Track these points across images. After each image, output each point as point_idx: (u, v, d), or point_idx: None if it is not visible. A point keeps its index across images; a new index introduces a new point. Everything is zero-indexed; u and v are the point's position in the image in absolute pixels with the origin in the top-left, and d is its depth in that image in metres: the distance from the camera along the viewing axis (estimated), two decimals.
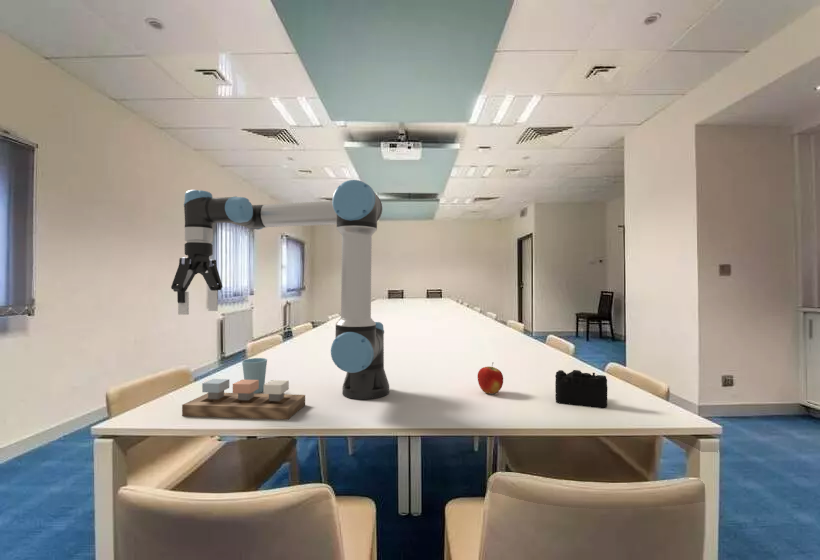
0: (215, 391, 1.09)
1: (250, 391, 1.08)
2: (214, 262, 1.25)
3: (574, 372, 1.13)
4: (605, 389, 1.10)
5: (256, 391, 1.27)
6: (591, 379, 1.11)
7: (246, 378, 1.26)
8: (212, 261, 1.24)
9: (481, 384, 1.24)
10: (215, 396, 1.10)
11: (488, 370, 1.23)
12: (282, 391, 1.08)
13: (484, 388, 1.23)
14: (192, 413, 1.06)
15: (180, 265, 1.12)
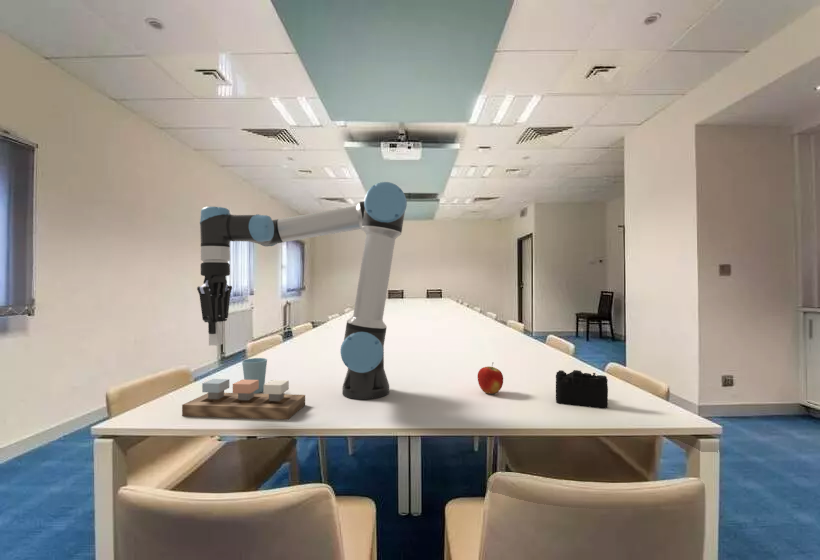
0: (215, 391, 1.09)
1: (250, 391, 1.08)
2: (230, 288, 1.17)
3: (574, 372, 1.13)
4: (605, 389, 1.10)
5: (256, 391, 1.27)
6: (591, 379, 1.11)
7: (246, 378, 1.26)
8: (228, 286, 1.17)
9: (481, 384, 1.24)
10: (215, 396, 1.10)
11: (488, 370, 1.23)
12: (282, 391, 1.08)
13: (484, 388, 1.23)
14: (192, 413, 1.06)
15: (201, 295, 1.06)
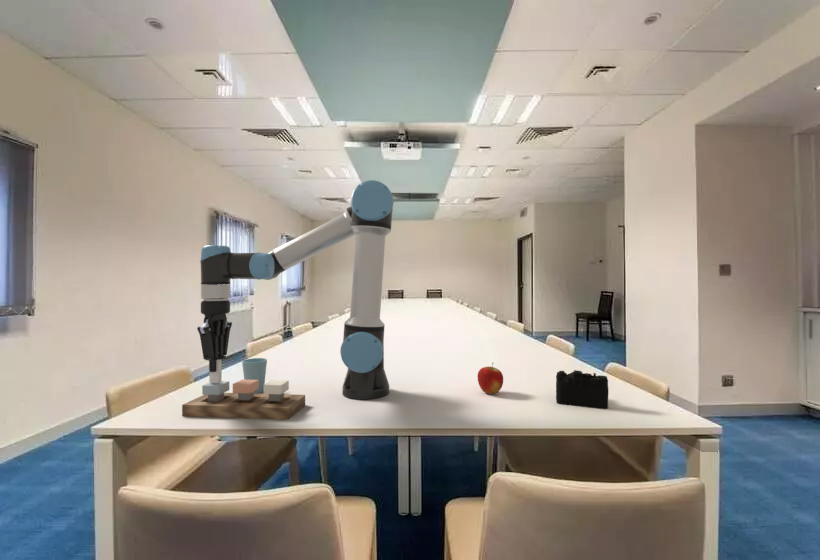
0: (215, 393, 1.09)
1: (250, 391, 1.08)
2: (229, 324, 1.17)
3: (575, 372, 1.13)
4: (606, 389, 1.10)
5: (256, 391, 1.27)
6: (592, 379, 1.10)
7: (246, 378, 1.26)
8: (228, 323, 1.17)
9: (481, 384, 1.24)
10: (215, 399, 1.10)
11: (488, 370, 1.23)
12: (282, 391, 1.08)
13: (484, 388, 1.23)
14: (192, 413, 1.06)
15: (201, 335, 1.07)
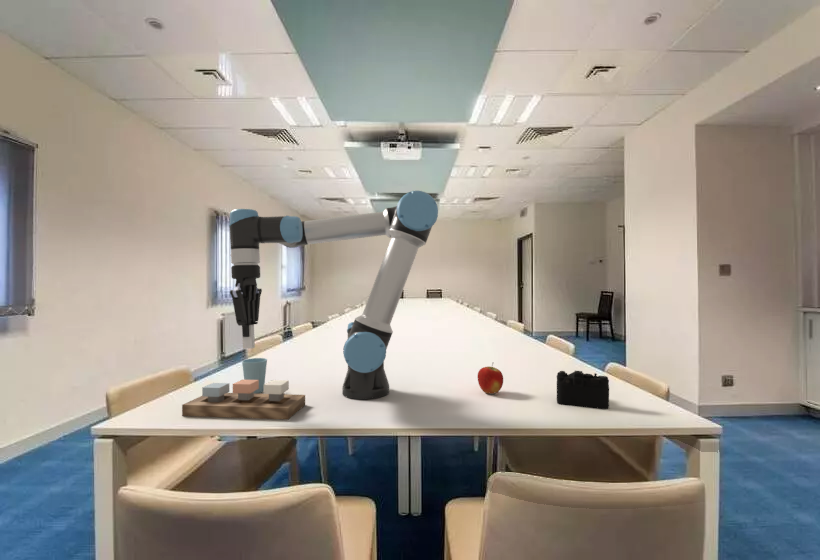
0: (215, 395, 1.09)
1: (250, 391, 1.08)
2: (260, 291, 1.16)
3: (576, 373, 1.12)
4: (607, 390, 1.10)
5: (256, 391, 1.27)
6: (593, 380, 1.10)
7: (246, 378, 1.26)
8: (258, 289, 1.16)
9: (481, 384, 1.24)
10: (215, 400, 1.10)
11: (488, 370, 1.23)
12: (282, 391, 1.08)
13: (484, 388, 1.23)
14: (192, 413, 1.06)
15: (234, 299, 1.06)
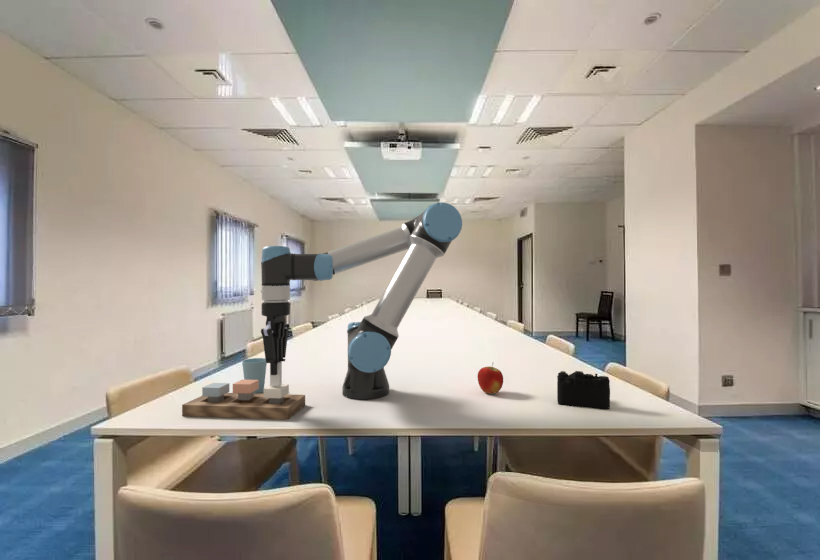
0: (215, 395, 1.09)
1: (250, 391, 1.08)
2: (287, 326, 1.15)
3: (576, 373, 1.12)
4: (608, 390, 1.09)
5: (256, 391, 1.27)
6: (594, 380, 1.10)
7: (246, 378, 1.26)
8: (286, 325, 1.15)
9: (481, 384, 1.24)
10: (215, 400, 1.10)
11: (488, 370, 1.23)
12: (282, 395, 1.08)
13: (484, 388, 1.23)
14: (192, 413, 1.06)
15: (264, 337, 1.05)
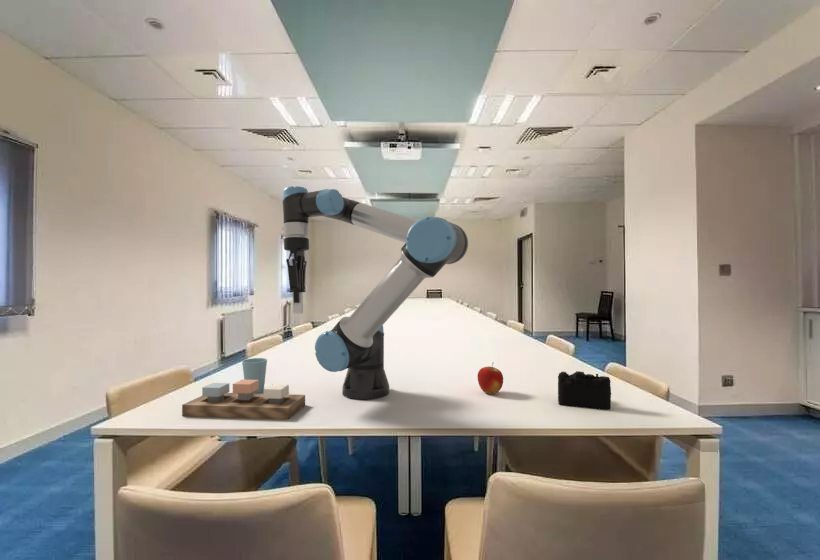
0: (215, 395, 1.09)
1: (250, 391, 1.08)
2: (305, 263, 1.27)
3: (577, 373, 1.11)
4: (609, 390, 1.09)
5: (256, 391, 1.27)
6: (595, 380, 1.09)
7: (246, 378, 1.26)
8: (304, 261, 1.27)
9: (481, 384, 1.24)
10: (215, 400, 1.10)
11: (488, 370, 1.23)
12: (282, 395, 1.08)
13: (484, 388, 1.23)
14: (192, 413, 1.06)
15: (289, 267, 1.17)
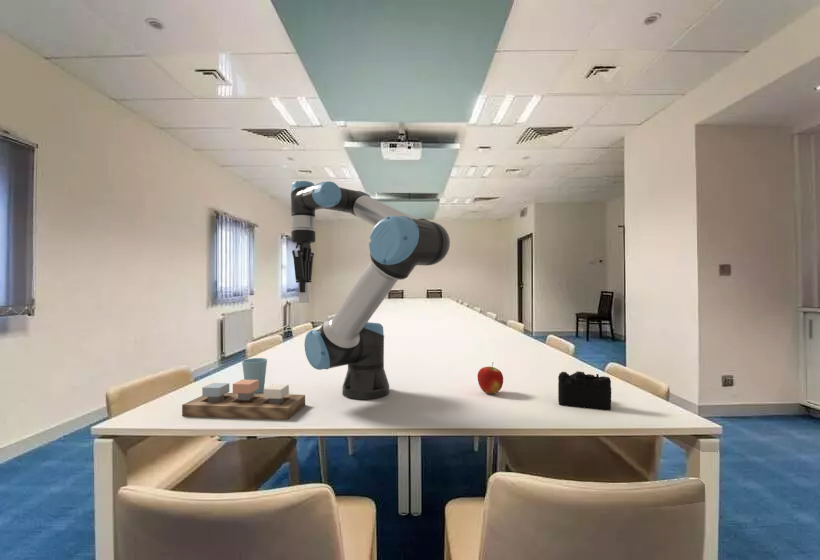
0: (215, 395, 1.09)
1: (250, 391, 1.08)
2: (312, 254, 1.33)
3: (578, 374, 1.11)
4: (609, 391, 1.09)
5: (256, 391, 1.27)
6: (595, 381, 1.09)
7: (246, 378, 1.26)
8: (311, 253, 1.33)
9: (481, 384, 1.24)
10: (215, 400, 1.10)
11: (488, 370, 1.23)
12: (282, 395, 1.08)
13: (484, 388, 1.23)
14: (192, 413, 1.06)
15: (295, 258, 1.22)
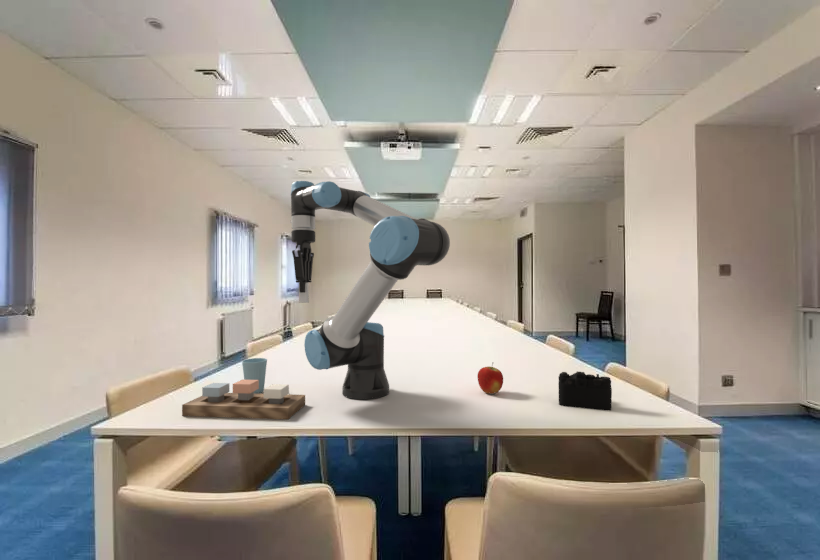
0: (215, 395, 1.09)
1: (250, 391, 1.08)
2: (312, 254, 1.33)
3: (578, 374, 1.11)
4: (609, 391, 1.09)
5: (256, 391, 1.27)
6: (595, 381, 1.09)
7: (246, 378, 1.26)
8: (311, 253, 1.33)
9: (481, 384, 1.24)
10: (215, 400, 1.10)
11: (488, 370, 1.23)
12: (282, 395, 1.08)
13: (484, 388, 1.23)
14: (192, 413, 1.06)
15: (295, 258, 1.22)
